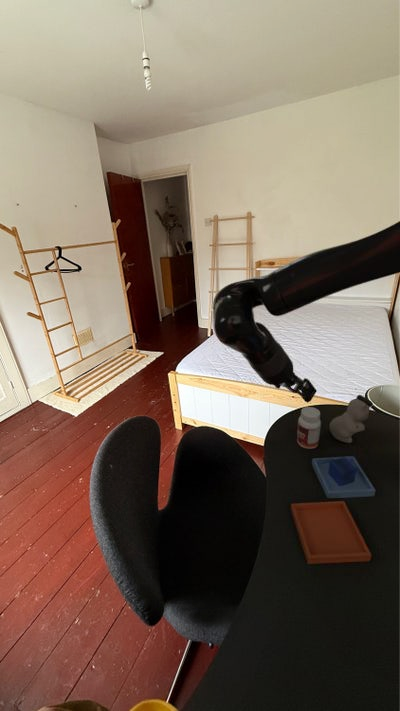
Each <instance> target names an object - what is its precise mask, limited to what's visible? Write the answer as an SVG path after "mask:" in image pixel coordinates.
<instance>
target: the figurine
mask: <svg viewBox="0 0 400 711" xmlns="http://www.w3.org/2000/svg"><path fill="white" fill-rule="evenodd" d="M373 405H374V403H373V402H372V401H371V400H370V399H369V398H367V397H366V396H363V395H361V394H358V395H356V398H353V399H351V400H349V402H348V404H347V409H346V411H345V412H344V413H342V414H341V415H338V416H335V417H334V418H333V419H332V420H331V421H330V423H329V428H328V429H329V431H330V433H331V435H332V436H333V437H334V438H335V439H336V440H337V441H340V442H341V443H342V442H343V443H347V444H351V443H353V438H352V436H354V434H356V433H360V432H363V431H365V430H366V426H365V425H364V423H363V421H365V420H367V419H368V418H369V415H370V414H369V413H370V410H371V407H372V406H373Z"/></svg>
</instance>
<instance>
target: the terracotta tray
mask: <svg viewBox="0 0 400 711" xmlns="http://www.w3.org/2000/svg"><path fill="white" fill-rule="evenodd" d="M290 511H291V514H292V517H293V522H294V525H295V527H296V531H297V534H298V538H299V540H300V543H301V547H302V550H303V552H304V556H305V560H306V563H307V565H319V564H336V563H337V564H338V563H339V564H340V563H357V562H358V563H359V562H370V561H371V557H372V552H370V550H369V547H368V546H367V543H366V541H365V539H364V537H363V536H362V534H361V531H360V529H359V528H358V526H357V524H356V522H355V519H354V518H353V516H352V514H351V512H350V510H349V508H348V505H347V504H346V502H345V500H337V501H318V502H317V501H316V502H297V503H291V504H290Z"/></svg>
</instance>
